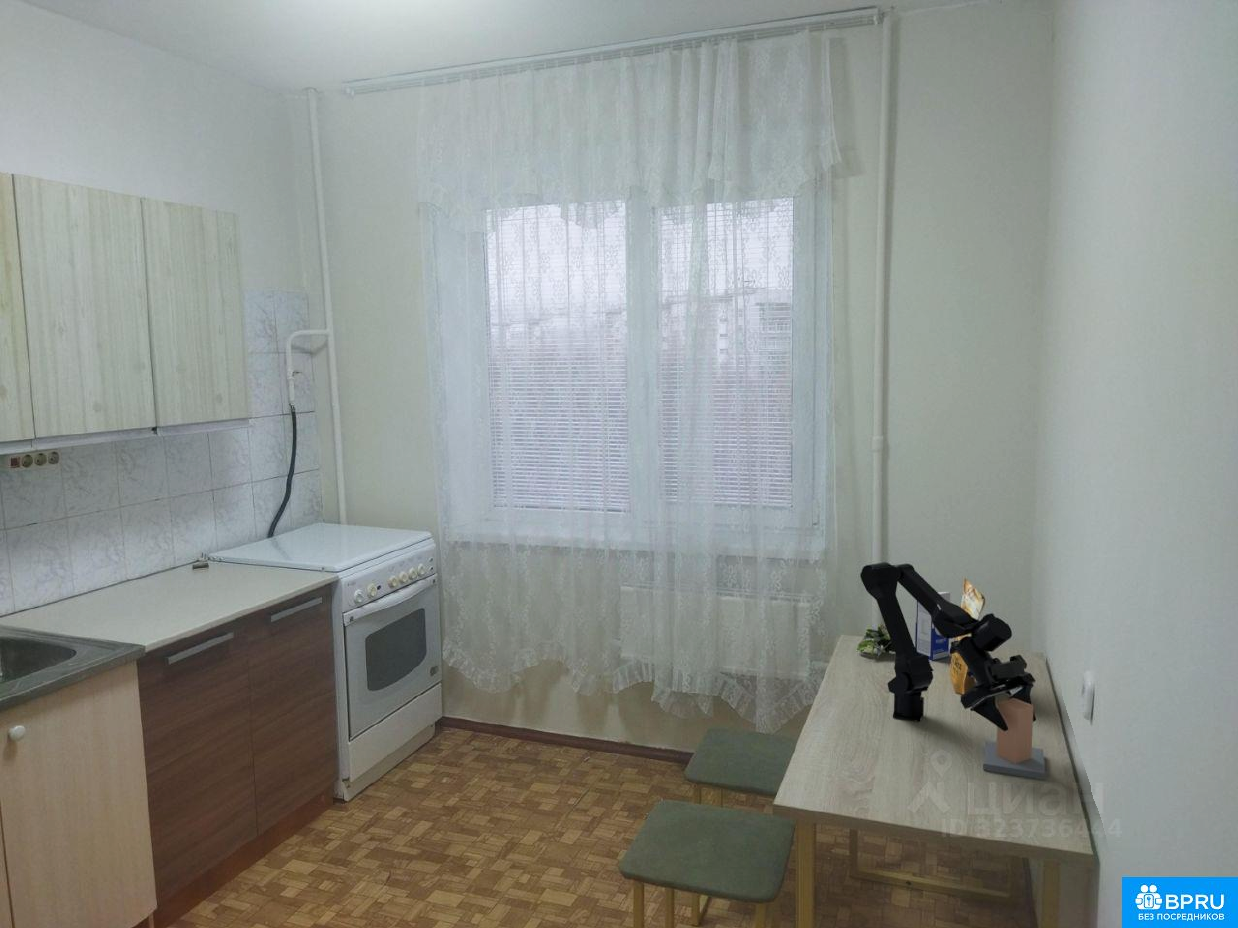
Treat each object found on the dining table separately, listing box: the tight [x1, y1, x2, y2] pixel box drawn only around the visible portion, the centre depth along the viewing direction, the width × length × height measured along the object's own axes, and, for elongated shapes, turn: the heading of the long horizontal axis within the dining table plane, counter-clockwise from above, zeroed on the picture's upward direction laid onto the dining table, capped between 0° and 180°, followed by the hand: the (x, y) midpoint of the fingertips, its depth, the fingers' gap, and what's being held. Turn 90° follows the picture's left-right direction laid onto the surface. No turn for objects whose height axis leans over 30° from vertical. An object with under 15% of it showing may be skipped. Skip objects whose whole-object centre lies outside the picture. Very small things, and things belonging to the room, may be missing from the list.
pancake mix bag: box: [949, 577, 986, 695], centre depth 232 cm, size 7×19×28 cm, turn 165°
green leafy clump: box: [856, 624, 895, 661], centre depth 258 cm, size 11×11×12 cm
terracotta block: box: [996, 698, 1034, 764], centre depth 188 cm, size 5×5×12 cm
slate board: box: [982, 740, 1046, 781], centre depth 189 cm, size 12×12×2 cm
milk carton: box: [914, 591, 951, 662], centre depth 257 cm, size 7×7×20 cm
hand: (1020, 725), depth 187 cm, fingers open, 9 cm apart
